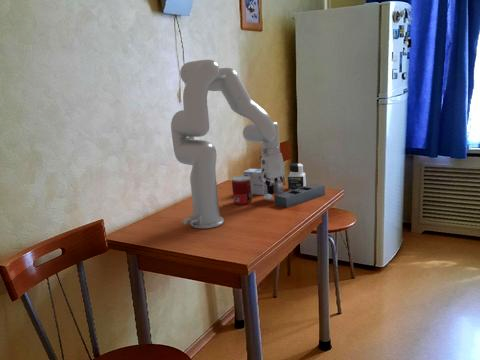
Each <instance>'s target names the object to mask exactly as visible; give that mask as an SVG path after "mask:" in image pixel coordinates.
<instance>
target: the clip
mask: <svg viewBox="0 0 480 360" xmlns="http://www.w3.org/2000/svg"><path fill="white" fill-rule="evenodd" d="M268 181H269V180H268ZM263 184H264V195H263V197H264V198H263V199H264V200H270V199H273V195H278V194H281V193H284V182H281V181H280V182H277V181H274V180H272V185H273V193H274V194H273V195H271V194H268V193H267V185H266V184H265V183H264V182H263Z"/></svg>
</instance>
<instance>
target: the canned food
mask: <svg viewBox="0 0 480 360" xmlns="http://www.w3.org/2000/svg"><path fill="white" fill-rule="evenodd" d="M231 186H232V197H233V199H232V200H233V203H234V205H236V206H246V205H250V204H251V203H252V201H253V197H252V195H253V194H251V181H250V177H248V176H243V175H239V176H235V177H232V178H231Z"/></svg>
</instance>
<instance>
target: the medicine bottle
mask: <svg viewBox="0 0 480 360" xmlns="http://www.w3.org/2000/svg"><path fill="white" fill-rule="evenodd" d="M287 184H288V185H287V188H288V190H287V191H290V190H294V189H297V188H300V187H303V186H306V185H307V179H306V172H304V164H302V163H299V162H295V163H291V164H290V165H289V174H288V176H287Z"/></svg>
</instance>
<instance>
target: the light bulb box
mask: <svg viewBox="0 0 480 360" xmlns="http://www.w3.org/2000/svg"><path fill="white" fill-rule="evenodd" d="M242 176H248V177H250V181H251V195H260V196H264V184H263V182H262V181H261V177H262V176H261V168H248V169H246V170H243V172H242ZM265 179H266V178H265Z"/></svg>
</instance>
